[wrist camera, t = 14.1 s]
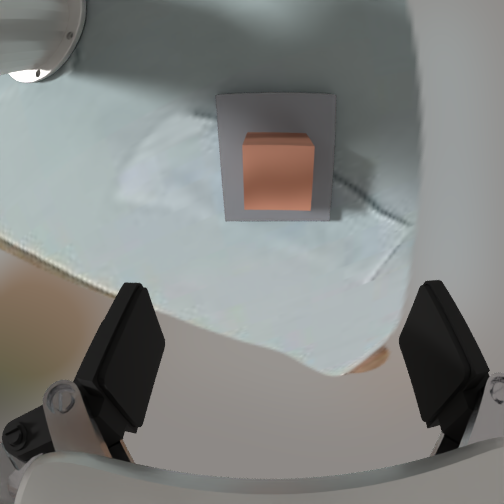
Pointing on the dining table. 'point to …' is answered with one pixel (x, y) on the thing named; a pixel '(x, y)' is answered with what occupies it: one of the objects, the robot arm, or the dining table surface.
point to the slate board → (276, 120)
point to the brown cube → (277, 171)
